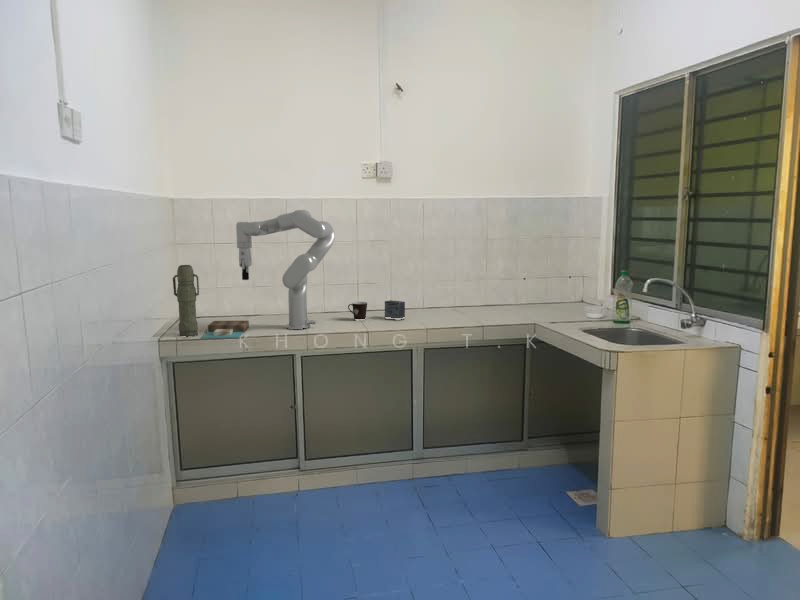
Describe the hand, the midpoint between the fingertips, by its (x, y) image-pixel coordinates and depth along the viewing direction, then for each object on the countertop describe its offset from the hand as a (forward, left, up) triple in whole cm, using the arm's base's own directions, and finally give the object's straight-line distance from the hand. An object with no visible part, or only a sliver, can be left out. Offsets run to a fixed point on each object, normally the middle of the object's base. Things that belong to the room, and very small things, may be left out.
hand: (245, 279), depth 302 cm
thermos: (+24, +22, -25) cm, 42 cm away
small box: (-81, -16, -25) cm, 86 cm away
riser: (+7, +12, -25) cm, 29 cm away
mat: (+7, +25, -25) cm, 36 cm away
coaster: (+7, +24, -22) cm, 34 cm away
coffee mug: (-60, -15, -25) cm, 67 cm away
